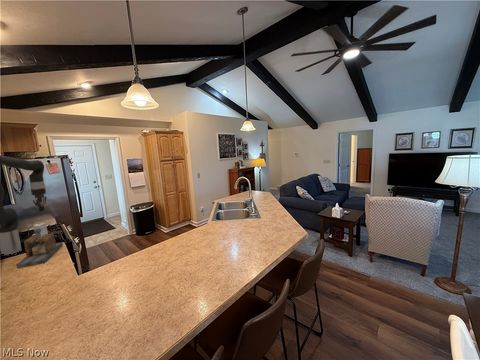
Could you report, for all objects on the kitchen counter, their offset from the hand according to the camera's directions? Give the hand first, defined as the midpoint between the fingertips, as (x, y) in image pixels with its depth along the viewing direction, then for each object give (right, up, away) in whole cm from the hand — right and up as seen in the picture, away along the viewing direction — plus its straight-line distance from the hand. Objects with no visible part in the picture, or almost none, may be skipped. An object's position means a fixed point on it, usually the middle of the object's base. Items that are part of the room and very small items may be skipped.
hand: (42, 210), depth 149 cm
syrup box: (-22, -29, +22) cm, 42 cm away
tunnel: (+4, -32, -4) cm, 32 cm away
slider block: (+4, -29, -4) cm, 30 cm away
